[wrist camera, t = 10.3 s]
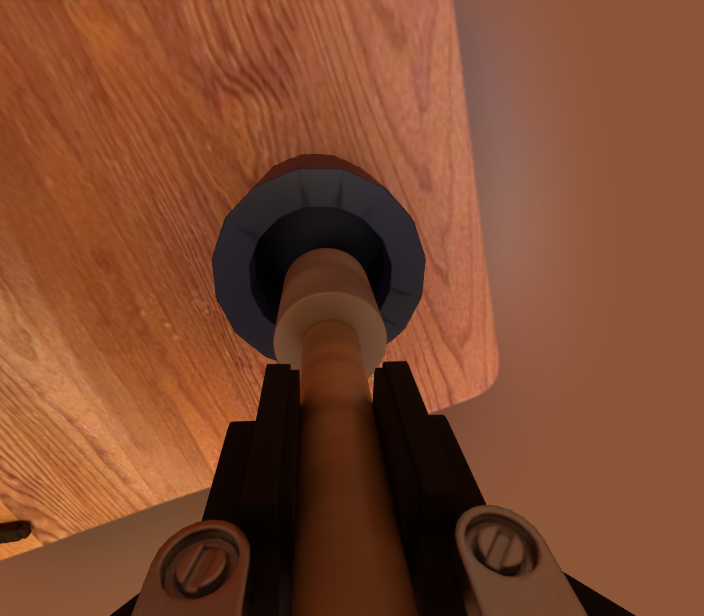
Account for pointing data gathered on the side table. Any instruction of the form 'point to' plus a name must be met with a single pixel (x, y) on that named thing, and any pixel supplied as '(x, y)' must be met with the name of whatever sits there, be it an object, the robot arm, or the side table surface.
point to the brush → (340, 445)
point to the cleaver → (14, 532)
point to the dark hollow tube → (314, 243)
